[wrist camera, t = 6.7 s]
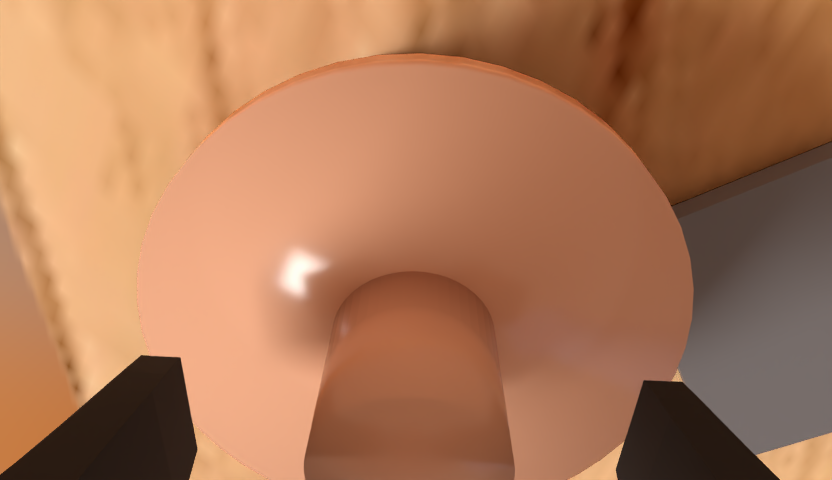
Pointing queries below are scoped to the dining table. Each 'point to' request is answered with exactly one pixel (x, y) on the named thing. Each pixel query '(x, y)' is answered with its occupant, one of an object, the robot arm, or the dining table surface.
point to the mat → (763, 301)
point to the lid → (415, 277)
